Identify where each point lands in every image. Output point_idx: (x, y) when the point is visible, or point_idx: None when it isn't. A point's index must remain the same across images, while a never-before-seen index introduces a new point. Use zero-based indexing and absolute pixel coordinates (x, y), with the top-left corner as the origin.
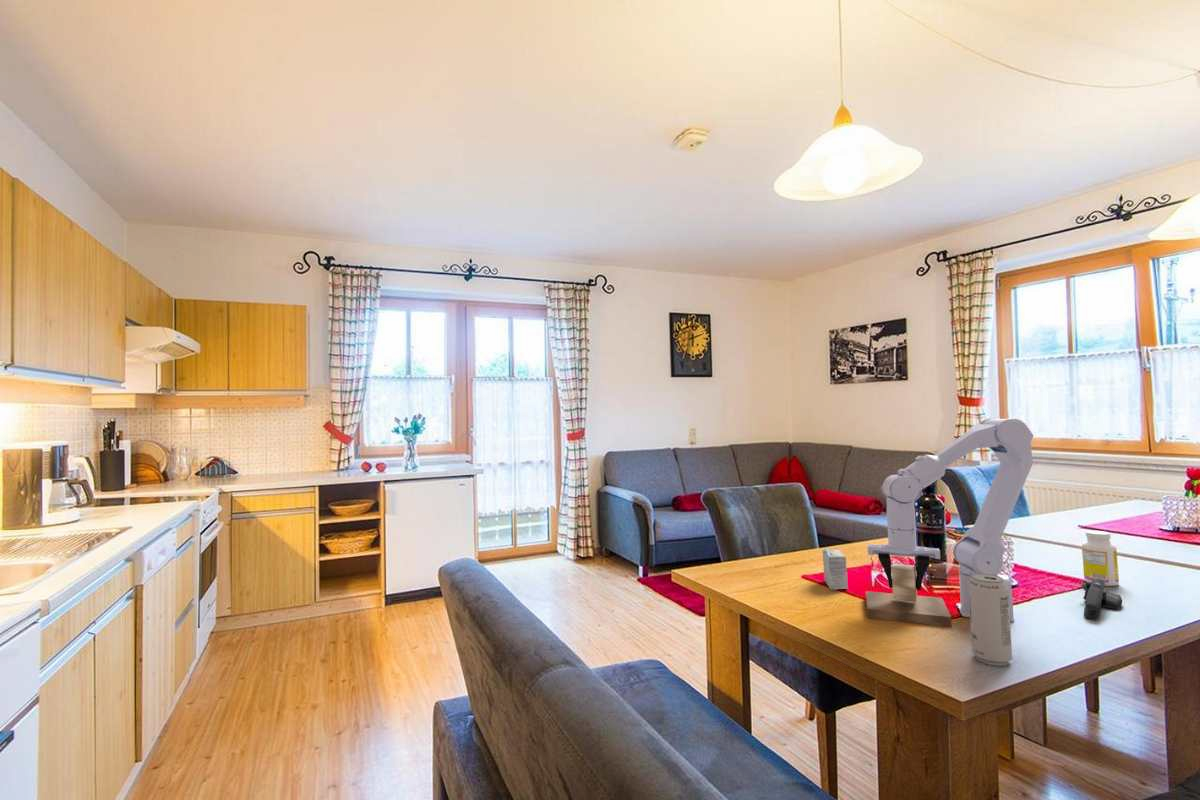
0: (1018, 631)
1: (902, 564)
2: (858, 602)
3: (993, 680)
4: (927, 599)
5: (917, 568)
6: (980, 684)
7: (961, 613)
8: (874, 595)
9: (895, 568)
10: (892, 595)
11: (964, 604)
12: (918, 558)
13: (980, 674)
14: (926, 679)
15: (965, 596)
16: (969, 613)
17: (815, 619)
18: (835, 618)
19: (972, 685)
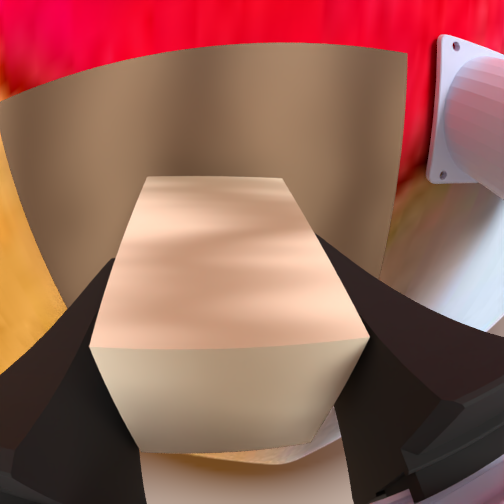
0: (494, 243)
1: (212, 353)
2: (3, 157)
3: (337, 433)
4: (334, 105)
5: (345, 430)
6: (317, 443)
7: (430, 161)
8: (43, 156)
9: (170, 451)
10: (130, 102)
11: (465, 154)
12: (393, 490)
13: (327, 430)
14: (253, 457)
15: (493, 175)
16: (452, 160)
17: (4, 359)
18: (28, 343)
19: (306, 448)
